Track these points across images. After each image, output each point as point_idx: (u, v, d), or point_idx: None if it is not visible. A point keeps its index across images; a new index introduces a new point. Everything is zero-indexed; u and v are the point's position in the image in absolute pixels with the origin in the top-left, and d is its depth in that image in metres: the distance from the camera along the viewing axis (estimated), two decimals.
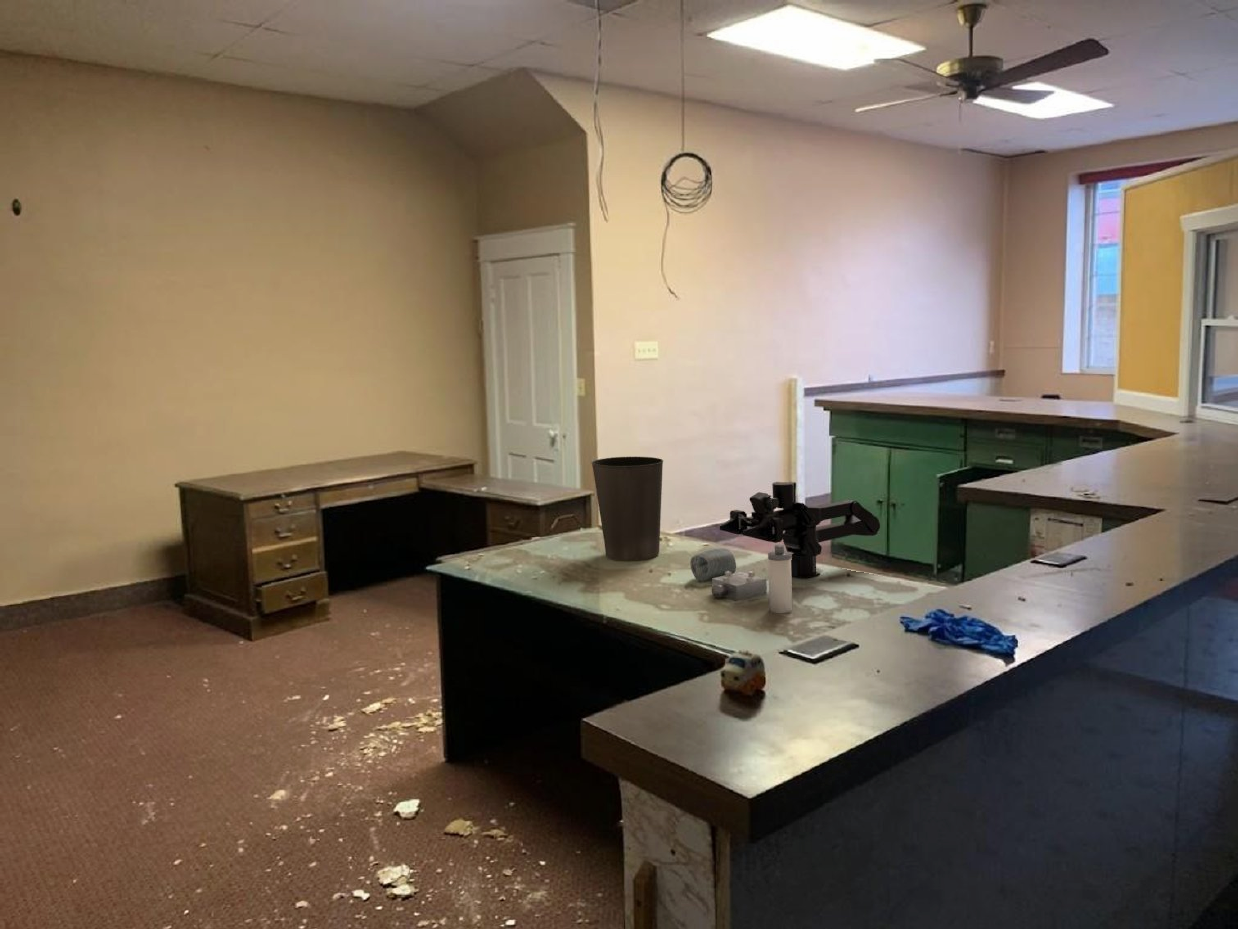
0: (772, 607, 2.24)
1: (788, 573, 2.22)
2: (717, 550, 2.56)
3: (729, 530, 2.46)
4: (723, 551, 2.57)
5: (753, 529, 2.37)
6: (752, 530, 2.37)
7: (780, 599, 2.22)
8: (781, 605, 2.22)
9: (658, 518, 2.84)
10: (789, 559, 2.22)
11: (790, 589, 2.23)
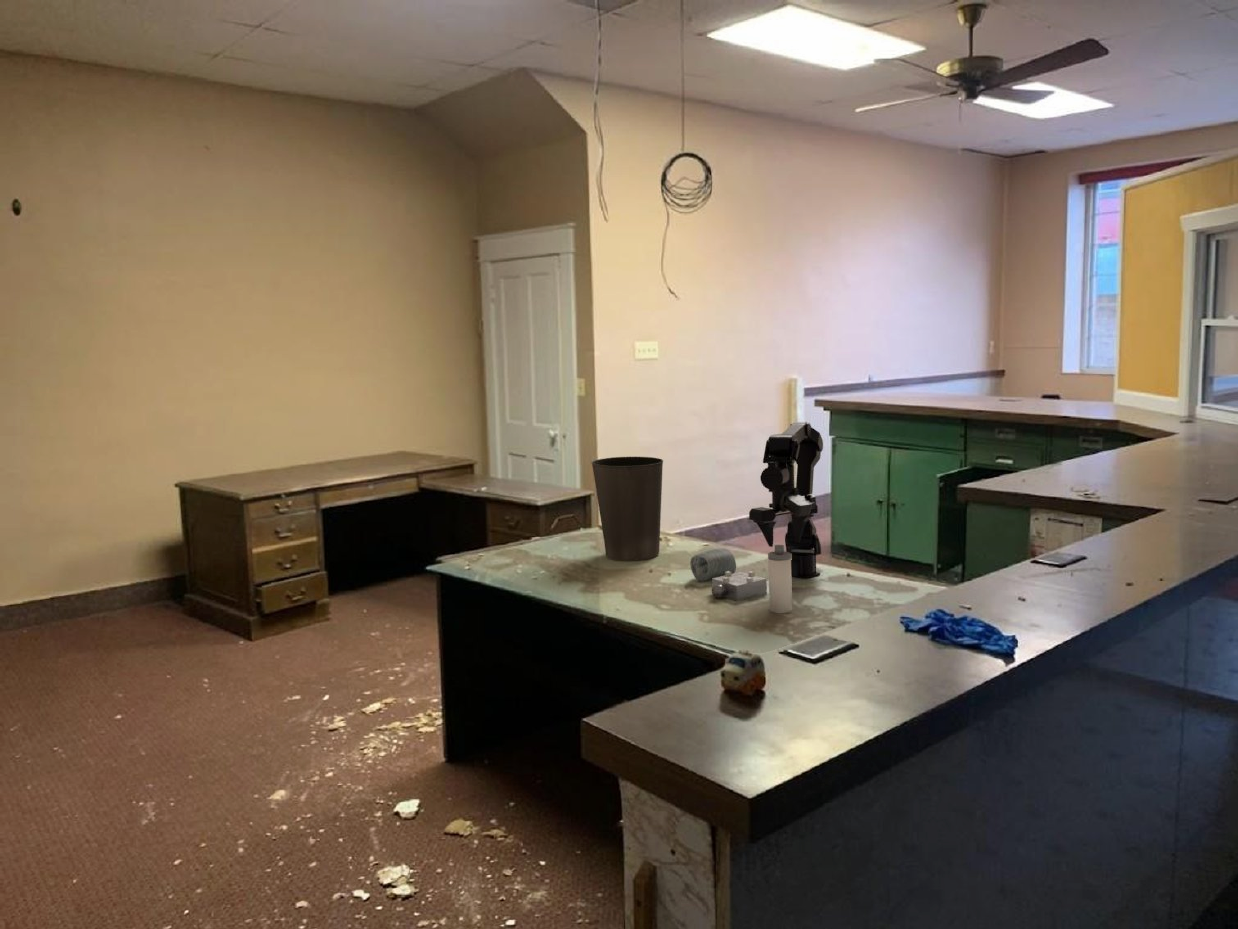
0: (772, 607, 2.24)
1: (788, 573, 2.22)
2: (717, 550, 2.56)
3: None
4: (723, 551, 2.57)
5: None
6: None
7: (780, 599, 2.22)
8: (781, 605, 2.22)
9: (658, 518, 2.84)
10: (789, 559, 2.22)
11: (790, 589, 2.23)
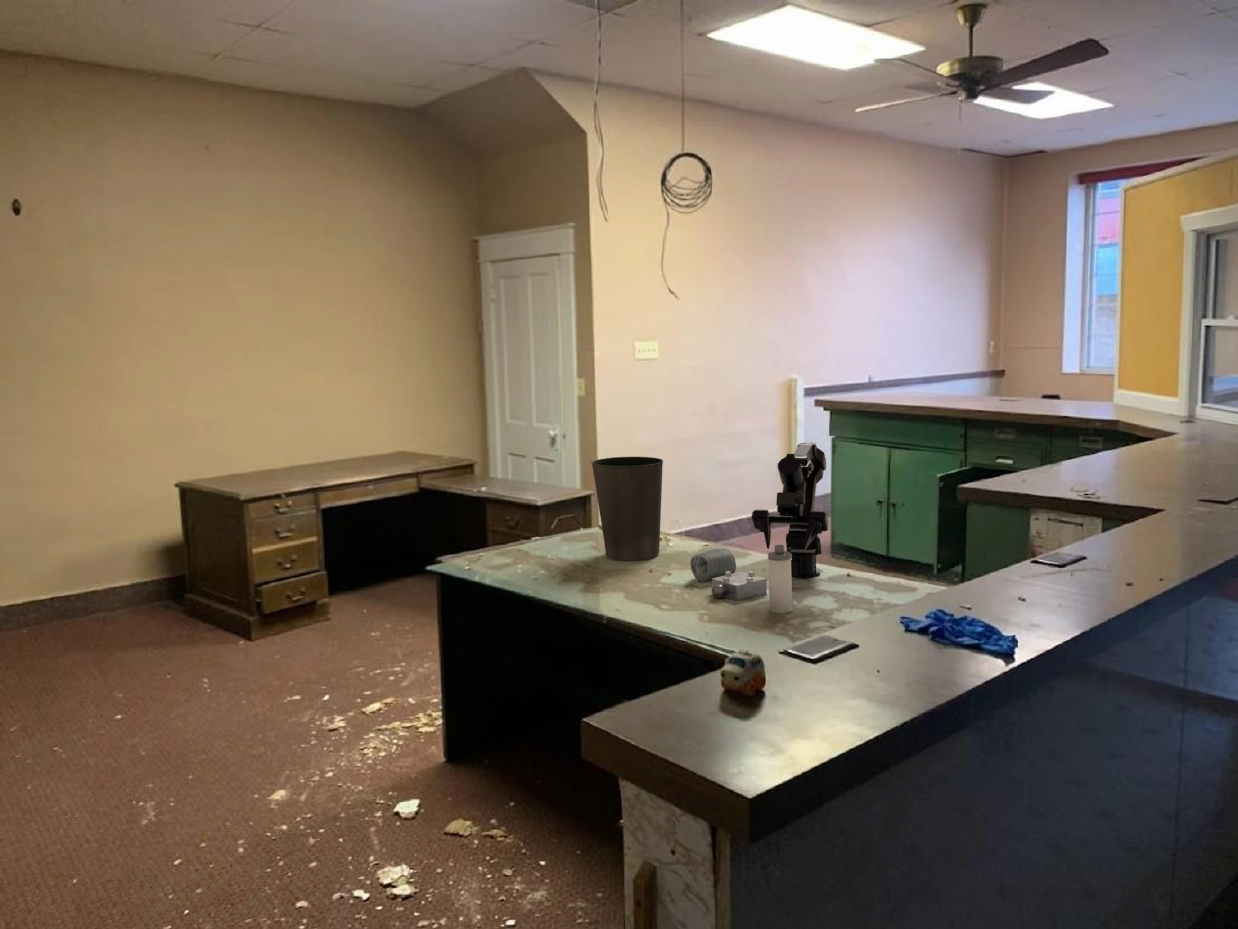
0: (772, 607, 2.24)
1: (788, 573, 2.22)
2: (717, 550, 2.56)
3: (769, 539, 2.35)
4: (723, 551, 2.57)
5: (809, 538, 2.30)
6: (808, 539, 2.30)
7: (780, 599, 2.22)
8: (781, 605, 2.22)
9: (658, 518, 2.84)
10: (789, 559, 2.22)
11: (790, 589, 2.23)
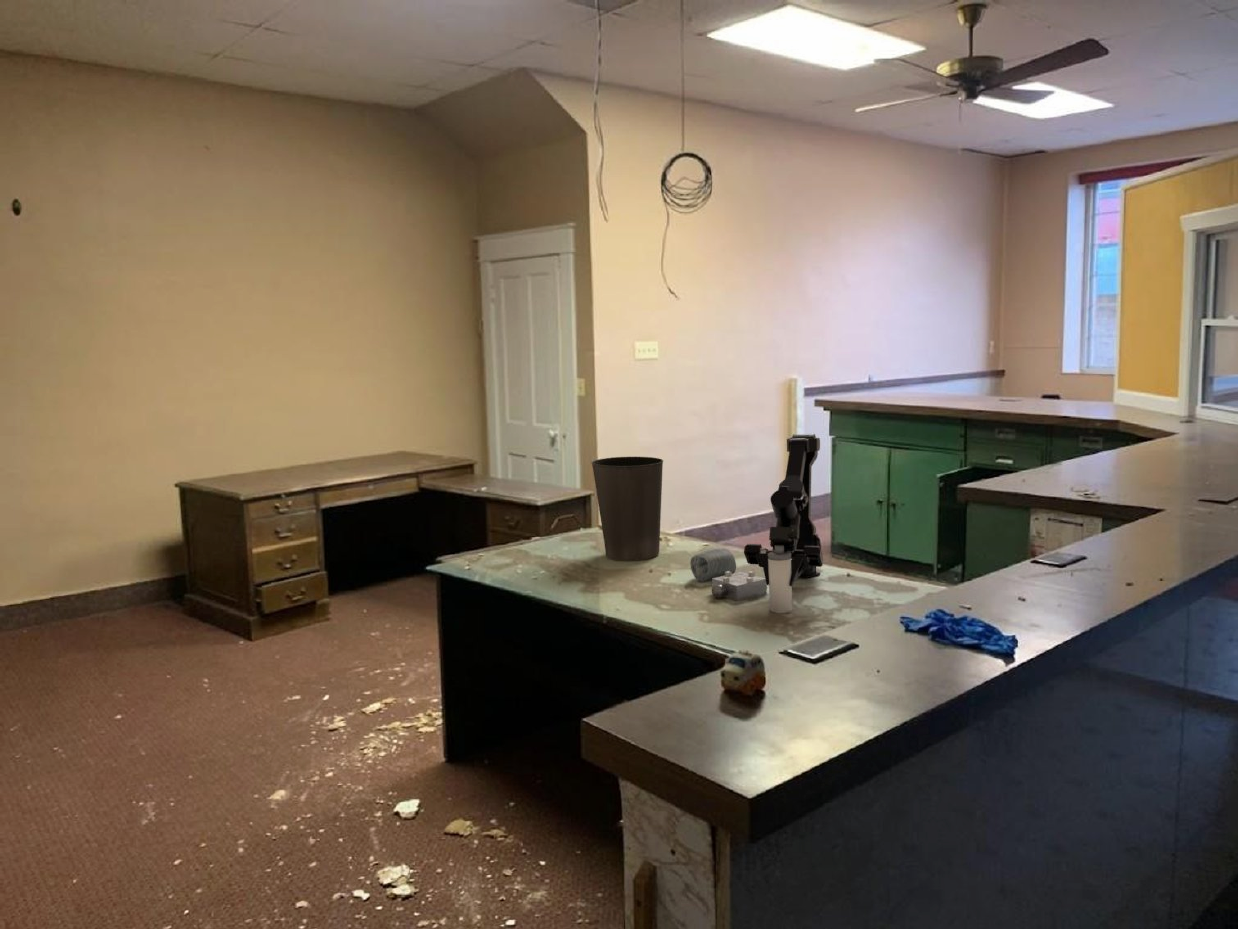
0: (772, 607, 2.24)
1: (788, 573, 2.22)
2: (717, 550, 2.56)
3: None
4: (723, 551, 2.57)
5: (796, 574, 2.23)
6: (795, 575, 2.23)
7: (780, 599, 2.22)
8: (781, 605, 2.22)
9: (658, 518, 2.84)
10: (789, 559, 2.22)
11: (790, 589, 2.23)
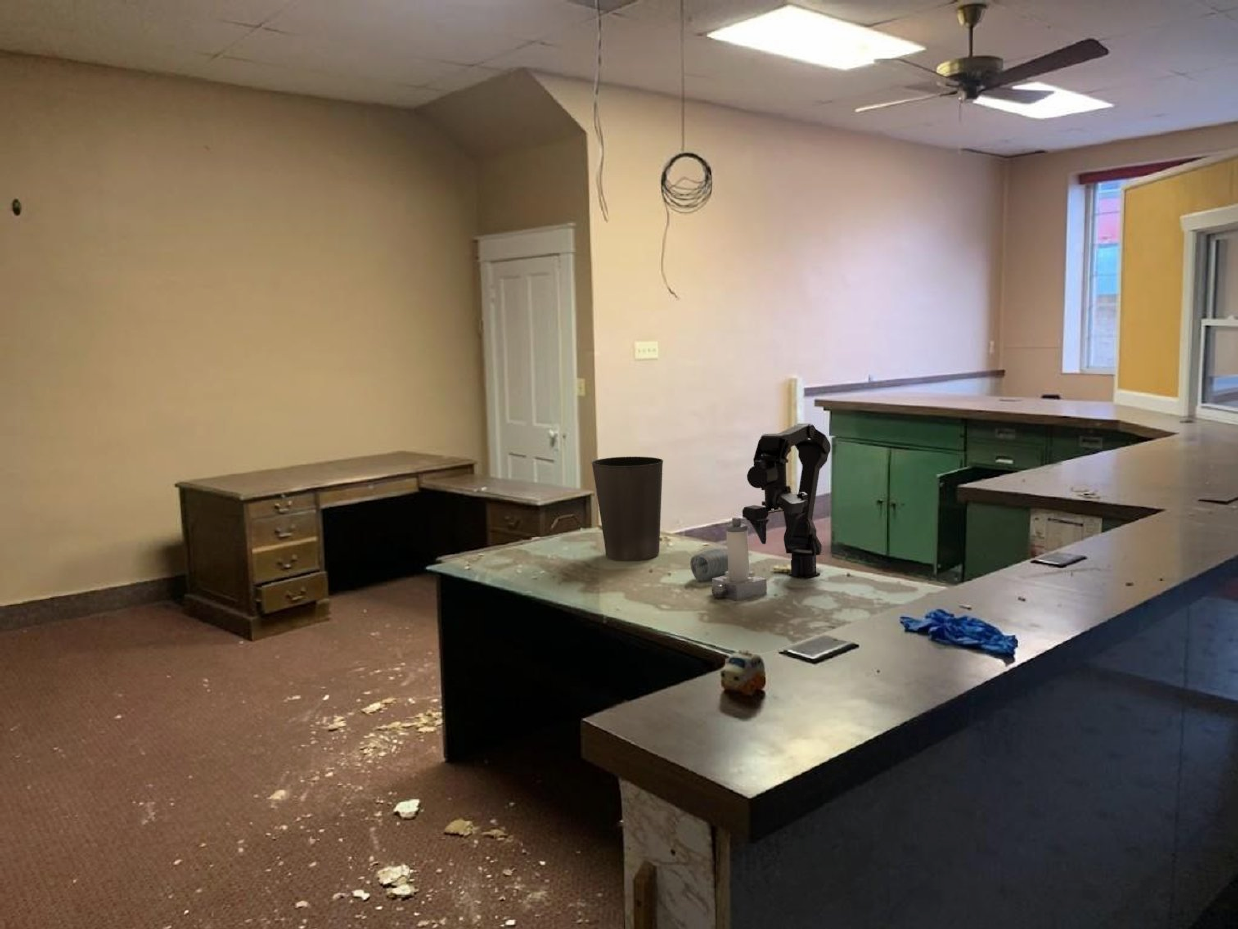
0: None
1: (740, 544, 2.37)
2: (717, 550, 2.56)
3: None
4: (723, 551, 2.57)
5: None
6: None
7: (733, 567, 2.38)
8: (734, 573, 2.38)
9: (658, 518, 2.84)
10: (742, 531, 2.37)
11: (744, 560, 2.38)
